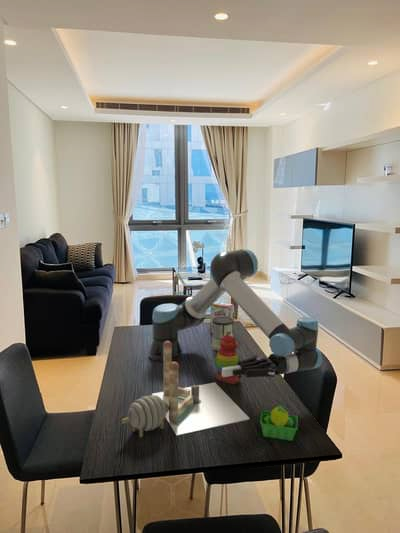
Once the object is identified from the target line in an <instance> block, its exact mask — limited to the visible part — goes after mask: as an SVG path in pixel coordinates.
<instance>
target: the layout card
mask: <svg viewBox="0 0 400 533" xmlns="http://www.w3.org/2000/svg"><path fill="white" fill-rule="evenodd" d="M197 385H198V386H199V402H198V403H193V404H192V405H191V406H190V407H189V408H188V409H187V410H185V411H184V412H183V413H182V414H181V415H180V416H179V417H178V421H177V422H170V421H169V410H168V412H167V413H166V416H165V419H166V420H167V422H168V424H169V426H170V427H171V429H172V431H173V432H174V434H175V435H176V437H179V436H181V435H186V434H191V433H196V432H199V431H200V432H201V431H205V430H209V429H213V428H218V427H223V426H226V425H227V426H228V425H231V424H237V423H240V422H245V421H249V420H251V419H250V417H249V416H248V414H246V413H245V412H244V411H243V410H242V409H241V408H240V407H239V405H237V404H236V403H235V401H234V400H233V399H232V398H231V397H230V396H229V395H228V394H226V392H225V391H224V390H223V389H222V388H221V387H220V386H219V384H217V383H216V382H211V383H204V384H197ZM184 388H185V389H189V390H190V395H191V386H188V387H184ZM154 395H157V396H159V397H160V398H161V399H162V400H164V401H166V402H167V403H168V405H169V396H164V395H163V391H159V392H154V393H153V392H152V393H151V396H154ZM185 399H186V398H183V397H179V396H178V405H179V404H180V403H181V402H183V401H184V400H185Z"/></svg>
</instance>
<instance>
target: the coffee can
mask: <svg viewBox="0 0 400 533" xmlns="http://www.w3.org/2000/svg"><path fill="white" fill-rule="evenodd" d="M212 321H213V330H212V333H211V334H212V339H211V340H212V341H211V342H212V344H211V348H212V349H213V350H214V351H217V352H218V351H219V350H220V349H221V347H220V340H221V338H222V337H224V336H226V335H227V334H228V336H232V337H234V322H235V320H234V318H233V319H232V318H229V317H215V318H213V319H212Z"/></svg>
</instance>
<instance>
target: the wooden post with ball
mask: <svg viewBox="0 0 400 533" xmlns="http://www.w3.org/2000/svg"><path fill="white" fill-rule="evenodd" d="M171 362H173V361H172V343H171V342H170V341H165V342H164V343H163V362H162V363H163V370H162V371H163V372H162V379H163V382H162V384H163V385H162V388H163V390H162V392H163V395H164V396H169V368H168V366H169V364H170V363H171ZM198 385H199V384H194V385H191V386H190V387H191V395H193V403H198V402H199V386H198ZM185 388H186V387H180V386H178V396H179V397H183V398H187V397H188V396H189V395H190V390H189V389H185Z"/></svg>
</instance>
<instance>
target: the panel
mask: <svg viewBox="0 0 400 533" xmlns="http://www.w3.org/2000/svg"><path fill="white" fill-rule="evenodd" d="M168 368H169V421H170V422H177V421H178V417H179V416H180V415H181V414H182V413H183V412H184V411H185V410H187V409H188V408H189V407H190V406H191V405H192V404H193V395H189V396H188V397H187V398H186V399H185V400H184V401H183V402H181V403H180V404H179V405H178V387H179V369H180V365H179V363H178V362H176V361H172V362H171V363H170V364H169V366H168Z"/></svg>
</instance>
